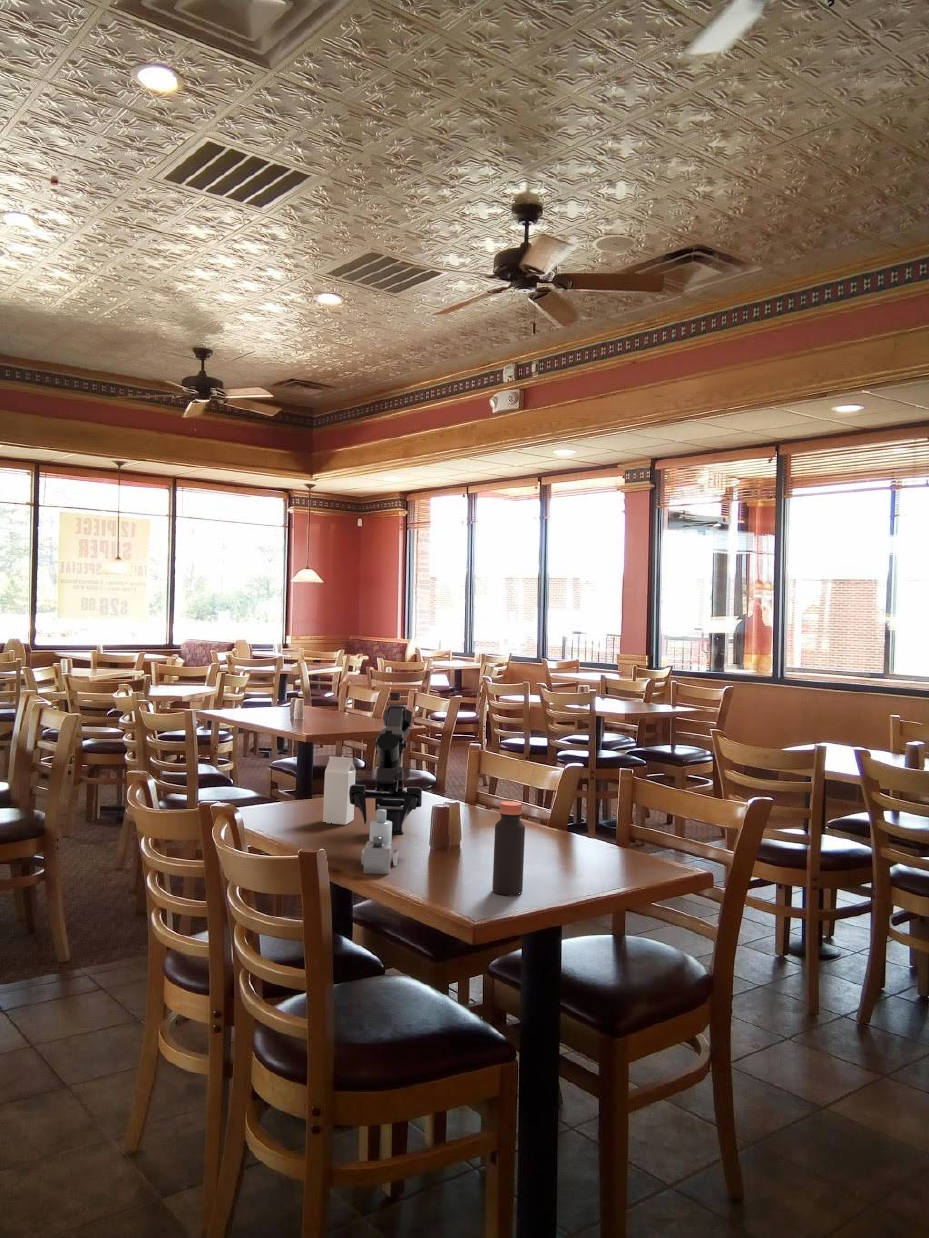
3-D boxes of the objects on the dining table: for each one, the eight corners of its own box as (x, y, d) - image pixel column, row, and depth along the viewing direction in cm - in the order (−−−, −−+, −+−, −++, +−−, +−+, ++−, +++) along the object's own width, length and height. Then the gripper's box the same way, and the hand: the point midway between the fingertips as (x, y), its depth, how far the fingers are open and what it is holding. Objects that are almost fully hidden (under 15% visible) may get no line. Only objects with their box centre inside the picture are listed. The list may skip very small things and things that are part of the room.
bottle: (518, 887, 219) (522, 800, 219) (525, 896, 212) (529, 806, 212) (489, 887, 218) (493, 800, 218) (495, 896, 211) (499, 806, 211)
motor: (362, 860, 237) (364, 828, 237) (397, 861, 237) (398, 829, 237) (357, 872, 225) (359, 839, 225) (394, 874, 225) (395, 840, 225)
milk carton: (345, 825, 276) (348, 759, 276) (322, 823, 277) (325, 757, 277) (353, 820, 283) (356, 756, 283) (330, 818, 284) (333, 754, 284)
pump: (382, 858, 240) (384, 807, 240) (394, 863, 235) (396, 811, 235) (364, 861, 236) (366, 809, 236) (376, 866, 232) (378, 813, 232)
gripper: (351, 753, 248) (344, 805, 237) (423, 756, 248) (419, 808, 237) (353, 778, 256) (347, 829, 245) (423, 780, 256) (419, 831, 245)
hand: (383, 824), depth 243 cm, fingers open, 9 cm apart
